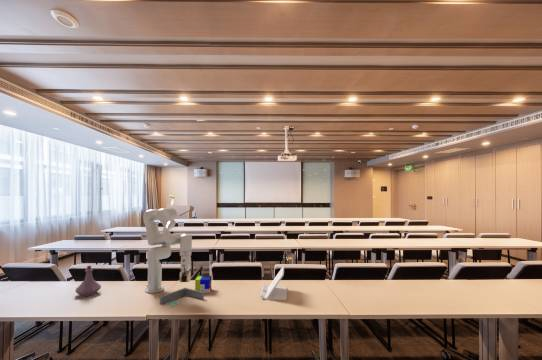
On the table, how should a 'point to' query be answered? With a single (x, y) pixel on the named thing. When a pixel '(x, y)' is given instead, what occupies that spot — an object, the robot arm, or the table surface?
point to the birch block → (186, 275)
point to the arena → (178, 294)
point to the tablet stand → (275, 289)
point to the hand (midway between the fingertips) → (185, 279)
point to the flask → (88, 284)
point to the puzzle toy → (203, 284)
